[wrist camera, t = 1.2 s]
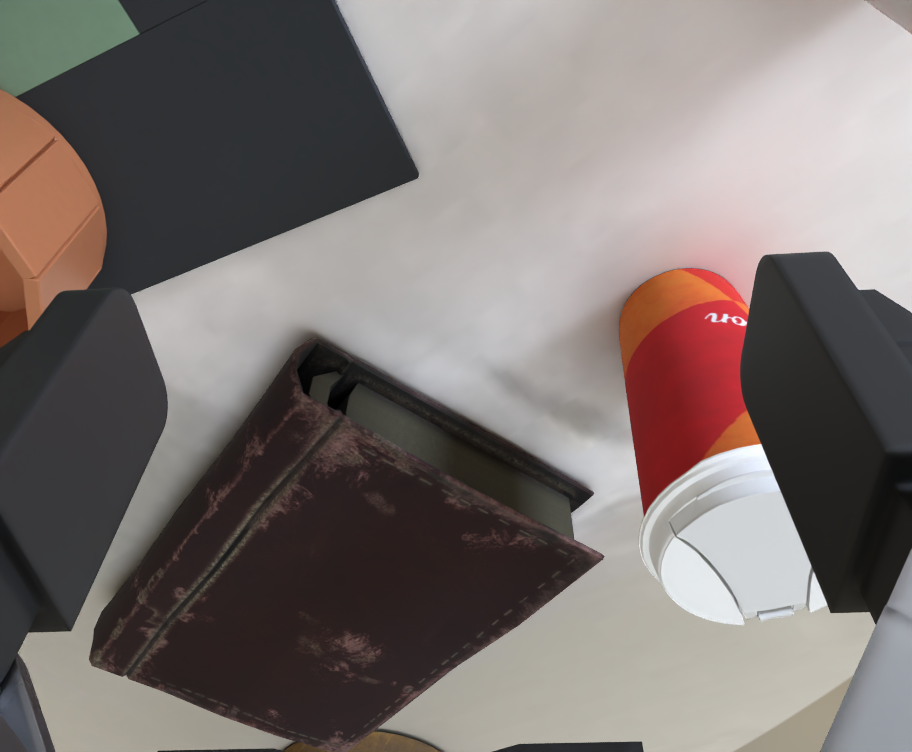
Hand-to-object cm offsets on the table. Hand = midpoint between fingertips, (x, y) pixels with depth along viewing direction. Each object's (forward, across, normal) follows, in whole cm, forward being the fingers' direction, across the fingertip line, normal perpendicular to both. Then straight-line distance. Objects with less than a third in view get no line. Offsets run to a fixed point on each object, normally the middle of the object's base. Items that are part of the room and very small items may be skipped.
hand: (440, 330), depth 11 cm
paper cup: (+22, -9, +15) cm, 29 cm away
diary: (+22, +9, +30) cm, 39 cm away
